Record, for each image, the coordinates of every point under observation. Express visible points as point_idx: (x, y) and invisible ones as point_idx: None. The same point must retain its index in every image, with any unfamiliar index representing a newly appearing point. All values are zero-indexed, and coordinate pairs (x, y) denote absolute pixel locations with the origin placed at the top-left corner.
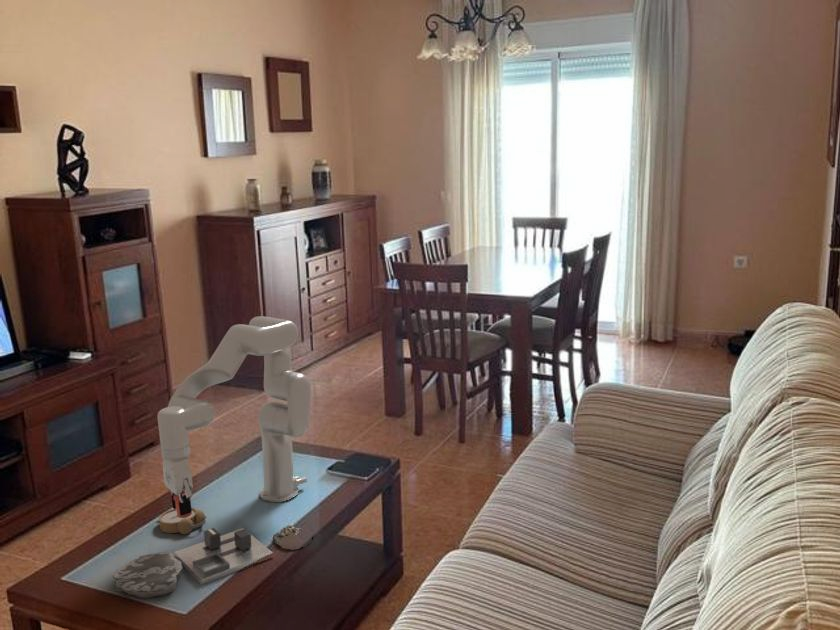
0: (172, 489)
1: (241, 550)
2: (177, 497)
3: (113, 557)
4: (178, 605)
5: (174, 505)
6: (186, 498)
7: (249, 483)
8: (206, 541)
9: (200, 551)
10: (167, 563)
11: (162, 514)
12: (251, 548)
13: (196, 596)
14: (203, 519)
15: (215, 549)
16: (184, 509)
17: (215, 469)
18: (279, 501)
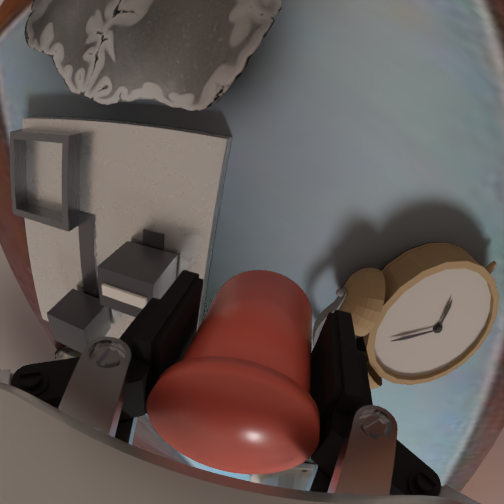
0: (50, 473)
1: (72, 289)
2: (224, 400)
3: (431, 4)
4: (16, 36)
5: (329, 331)
6: (3, 370)
7: None
8: (151, 258)
9: (149, 212)
10: (130, 58)
11: (495, 301)
12: None
13: (12, 84)
14: None
15: None
16: (140, 313)
17: (481, 457)
18: None
